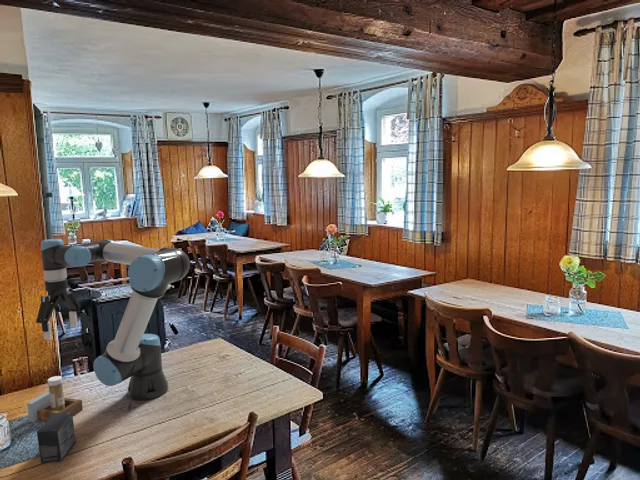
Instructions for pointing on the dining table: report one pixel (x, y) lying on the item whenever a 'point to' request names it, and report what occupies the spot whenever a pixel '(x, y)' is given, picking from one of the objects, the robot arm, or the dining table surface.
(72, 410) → the socket block
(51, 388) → the sprinkles bottle
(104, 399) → the dining table surface
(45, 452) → the small box
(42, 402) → the board
